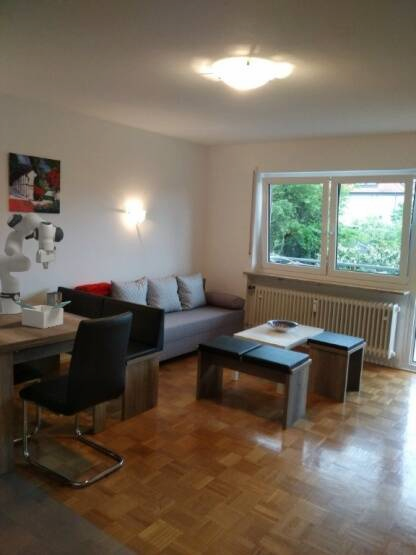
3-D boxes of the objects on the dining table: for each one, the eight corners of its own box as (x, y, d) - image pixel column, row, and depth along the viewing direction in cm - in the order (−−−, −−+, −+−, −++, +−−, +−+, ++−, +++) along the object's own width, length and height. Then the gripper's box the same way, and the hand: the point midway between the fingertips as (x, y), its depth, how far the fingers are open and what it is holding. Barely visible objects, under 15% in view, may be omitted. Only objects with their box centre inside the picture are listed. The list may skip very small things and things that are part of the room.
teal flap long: (24, 307, 270) (13, 302, 262) (24, 306, 270) (13, 301, 262) (36, 309, 265) (25, 304, 258) (36, 308, 266) (26, 303, 258)
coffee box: (53, 314, 305) (53, 291, 303) (62, 315, 304) (62, 292, 302) (46, 316, 296) (46, 293, 294) (55, 317, 295) (55, 293, 293)
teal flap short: (51, 308, 268) (60, 302, 265) (60, 306, 276) (70, 301, 272) (51, 309, 268) (61, 303, 265) (61, 307, 276) (70, 301, 272)
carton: (20, 324, 272) (20, 308, 271) (41, 319, 287) (41, 304, 286) (43, 328, 264) (43, 312, 263) (63, 323, 279) (64, 308, 278)
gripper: (43, 248, 271) (42, 270, 273) (57, 247, 292) (57, 267, 293) (33, 247, 272) (33, 270, 274) (48, 246, 292) (48, 267, 294)
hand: (45, 269), depth 284 cm, fingers closed
